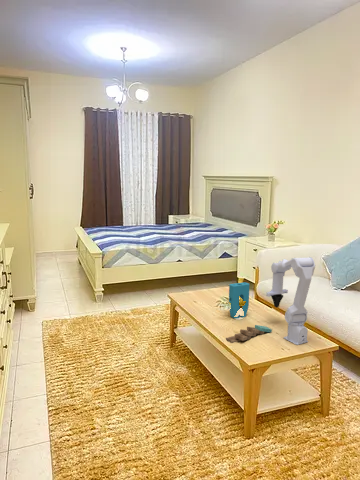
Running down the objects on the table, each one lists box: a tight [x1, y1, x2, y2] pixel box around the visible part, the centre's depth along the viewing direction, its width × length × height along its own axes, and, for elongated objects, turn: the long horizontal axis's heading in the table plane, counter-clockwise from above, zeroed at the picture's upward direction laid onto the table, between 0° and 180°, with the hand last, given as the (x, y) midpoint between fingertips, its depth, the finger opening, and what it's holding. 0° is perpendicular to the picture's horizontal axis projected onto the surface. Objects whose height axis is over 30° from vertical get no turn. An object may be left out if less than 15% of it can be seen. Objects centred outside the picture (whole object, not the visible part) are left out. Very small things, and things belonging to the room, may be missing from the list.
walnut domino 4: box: [246, 326, 265, 335], centre depth 196 cm, size 5×2×8 cm
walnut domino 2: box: [233, 332, 252, 342], centre depth 188 cm, size 5×2×8 cm
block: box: [228, 282, 251, 320], centre depth 220 cm, size 12×5×20 cm, turn 115°
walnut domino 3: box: [239, 328, 258, 337], centre depth 192 cm, size 5×2×8 cm
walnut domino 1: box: [225, 335, 243, 344], centre depth 189 cm, size 5×2×8 cm
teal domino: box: [254, 324, 273, 333], centre depth 198 cm, size 5×2×8 cm
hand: (276, 306), depth 208 cm, fingers closed
